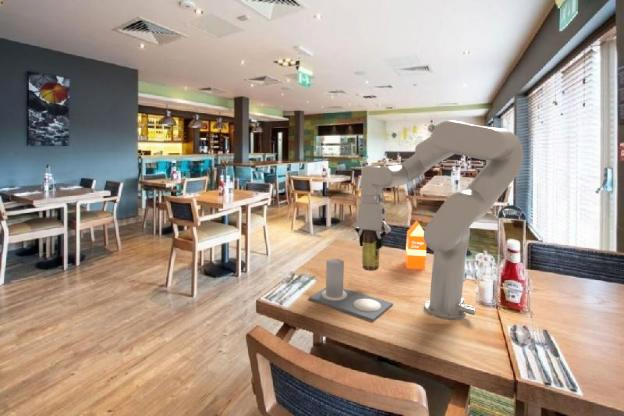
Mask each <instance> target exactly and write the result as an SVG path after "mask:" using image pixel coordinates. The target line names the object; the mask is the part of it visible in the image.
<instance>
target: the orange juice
mask: <svg viewBox="0 0 624 416" xmlns="http://www.w3.org/2000/svg"><path fill="white" fill-rule="evenodd" d="M426 256H427V245H426V244H425V242H424V229H423V228H422V225H420V223H419V222H418V220H415V222H414V223H413V224H412V225H411V226H410V228H409V229H408V230H407V231H406V245H405V266H406V269H413V270H414V269H415V270H425V269H426Z"/></svg>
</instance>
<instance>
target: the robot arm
mask: <svg viewBox="0 0 624 416" xmlns="http://www.w3.org/2000/svg"><path fill="white" fill-rule="evenodd" d="M414 149H415V150H414V153H413V154H412V155H411V156H410V157H409V158H407V159H405V160H404V161H402V162H401V163H399V164H392V165H384V166H380V165H364V166H363V167H362V168H361V170H360V171H361V173H360V174H361V178H360V179H361V181H360V182H361V187H360V188H361V189H360V193H361V195H360V199H361V200H360V202H359V204H358V211H357V217H356V218H357V219H356V220H355V221H354V222H353V223H352V225H351V226H352V227H353V229H354V230H355V232H356V233H357V235H358V237H359V239H358V240H359V246H360V247H363V234H364V232H365V230H371V231H376V233H377V236H378V238H377V241H376V249H379V250H380V249H382V248H383V246H384V243H383V242H384V237H385V236H386V235H388V234H389V233H390V232H391V231H392V228H391V226H390V225H388V223H387V213H386V206H385V204H384V203H383V202H385V201H386V197H384V196H383V189H387V188H393V187H400V186H401V187H402V186H404V185H406V184H408V183H409V182H412V181H413V180H415V179H417V178H419V177H420V176H422V175H423V174H425V173H427V171H429V170H430V169H431V168H433V167H434V166H436V165H438V164H439V163H441V162H442V161H445V160H446V159H448V158H450V157H452V156H454V155H460V156H463V157H468V158H473V159H477V160H482V161H487V162H486V163H485V166H483V168H482V169H481V170H480V171H479V172H478V173H477V174H476V175H475V178H474V179H473V180H472V181H471V182H470V184H469V185H468V186H467V187H466V188H465V189H463V190H460V191H457V192H454V193H453V194H450V196H449V197H448V198H446V199H445V201H444V202H443V203H442V204H441V206H440V207H439V208H438V209H437V211H436V212H435V214H434V215H433V217H431V219H430V220H429V222H428V223H427V225H425V229H423V231H424V242H425V244H426V245H427V246H426V248H428V249H430V250H431V251H433V258H432V267H431V268H432V270H431V283H430V292H429V293H430V294H429V295H430V296H429V299H428V300H427V301H426V302H425V303H424V310H425V311H426V312H427V313H428V314H429V315H432V316H434V317H436V318H440V319H442V320H443V319H444V320H459V319H462V318H464V317H465V316H466V314H468V315H471V316H475V315H476V309H475V308H474V306H473V305H470V304H467V303H465V298H462V297H463V289H464V287H463V286H464V277H465V269H466V268H465V267H466V266H465V265H466V258H467V251H468V247H469V243H470V237H471V231H470V230H471V229H470V227H471V226H472V225H473V224H474V222H477V221H479V220H480V219H482V218H484V217H485V216H486V215H487V213H488V212H489V211H490V210H491V208H492V207H493V206H494V205H495V203H496V202H497V201H498V199H500V197H501V196H502V195H503V193H504V192H505V191H506V189H508V187H509V186H510V185H511V183H512V182H513V181H514V180H515V178H516V177H517V175H518V174H519V172H520V171H521V167H522V165H523V162H524V161H523V160H524V150H523V146H522V143H521V141H520V139H519V138H518V136H517V135H516V134H515V133H513V132H512V131H510V130H509V129H506V128H500V127H491V126H490V127H489V126H484V125H483V126H482V125H475V124H470V123H466V122H463V121H459V120H452V119H451V120H444V121H441V122H439V123H438V124H437V125H436V126H435V127H434V128H433V130H432V133H431V136H428V137H427V138H426V139H424V140H423V141H420V142H419V143H418V144H417V145H416V146H415V147H414ZM383 230H384V231H383Z"/></svg>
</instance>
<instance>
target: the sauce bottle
mask: <svg viewBox="0 0 624 416" xmlns="http://www.w3.org/2000/svg"><path fill="white" fill-rule="evenodd" d="M377 238H378V236H377V233H376V231H371V230H365V232H364V234H363V246H362V248H361V249H362V250H361V251H362V253H361V255H362V257H361V258H362V259H361V262H362V264H361V265H362V268H363V270H365V271H370V272H371V271H377V270H378V269H379V267H380V266H379V265H380V249H376V241H377Z"/></svg>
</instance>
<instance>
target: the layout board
mask: <svg viewBox="0 0 624 416" xmlns="http://www.w3.org/2000/svg"><path fill="white" fill-rule="evenodd" d="M344 268H345V262H344V260H342V259H339V258H330V259H328V260H326V268H325V269H326V273H325V274H326V275H325V288H323V289H321V290H319V291H317V292H315V293H313V294H312V295H309V297H308V300H310V301H313V302H315V303H318V304H322V305H324V306H327V307H330V308H331V309H332V308H333V309H336V310H339V311H341V312H344V313H346V314H350V315H354V316H356V317H358V318H362V319H365V320H367V321H371V322H375V321H376V320H377V319H378V318H380V317H381V316H382V315H383V314H384V313H386V311H388V310H389V309H390V308H392V307H393V305H394V303H393V302H391V301H386V300H384V299H380V298H377V297H374V296H371V295H367V294H363V293H361V292H357V291H354V290H350V289H347V288H344V273H345V271H344V270H345V269H344Z"/></svg>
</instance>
